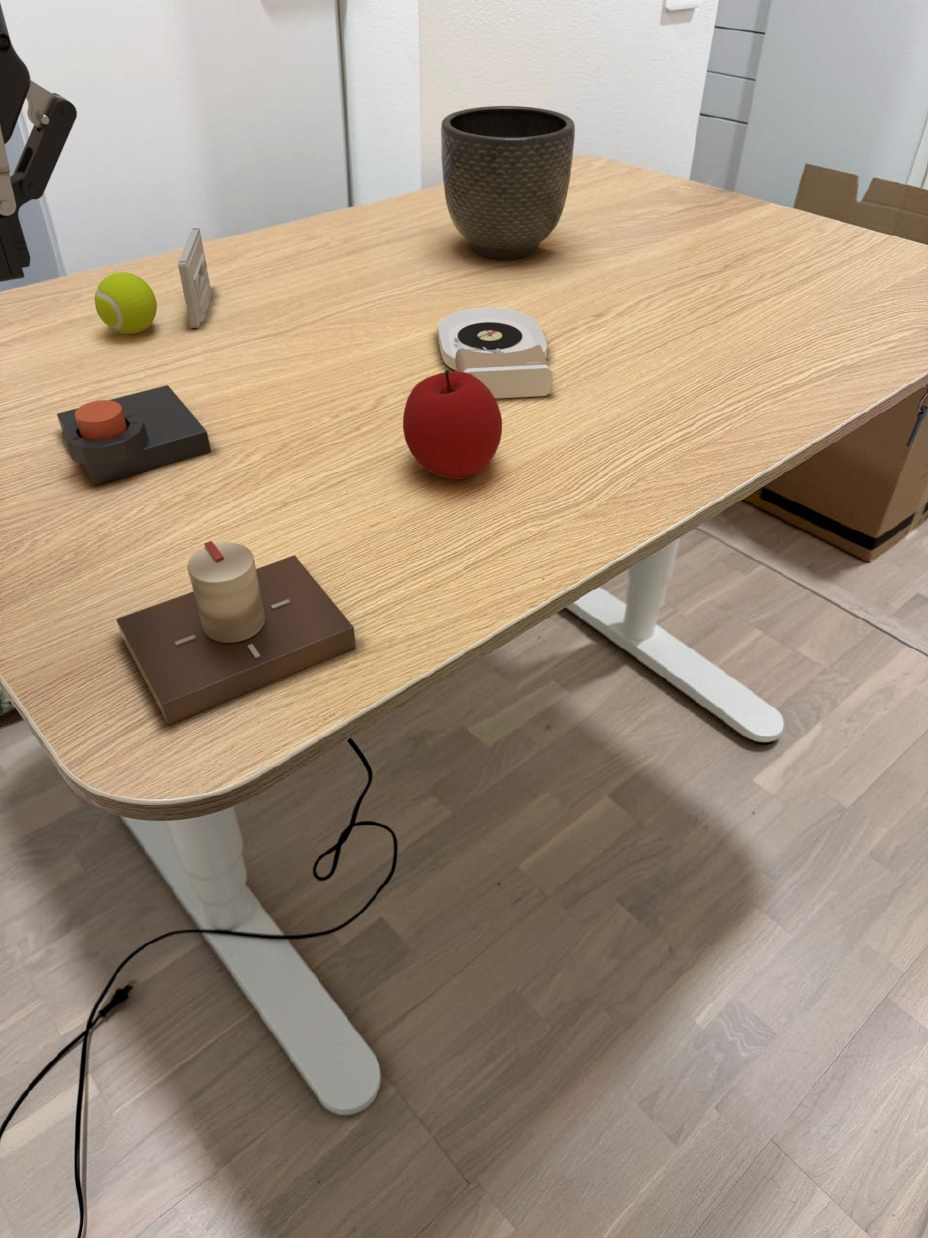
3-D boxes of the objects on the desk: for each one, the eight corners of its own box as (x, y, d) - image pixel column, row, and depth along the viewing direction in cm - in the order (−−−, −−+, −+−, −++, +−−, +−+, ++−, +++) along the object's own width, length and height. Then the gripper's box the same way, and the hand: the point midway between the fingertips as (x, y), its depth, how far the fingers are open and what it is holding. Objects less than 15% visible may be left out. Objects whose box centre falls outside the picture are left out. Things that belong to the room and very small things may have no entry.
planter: (449, 225, 133) (448, 103, 123) (566, 229, 132) (575, 106, 122) (435, 269, 121) (433, 136, 110) (565, 274, 119) (575, 140, 109)
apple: (521, 475, 83) (526, 374, 76) (434, 504, 79) (432, 400, 73) (470, 431, 89) (470, 333, 82) (387, 456, 85) (381, 356, 79)
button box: (87, 494, 81) (74, 455, 78) (53, 436, 88) (40, 398, 85) (215, 455, 85) (207, 417, 83) (172, 404, 93) (164, 367, 90)
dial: (275, 628, 64) (263, 563, 60) (216, 651, 62) (200, 586, 59) (250, 594, 67) (237, 531, 63) (193, 616, 65) (176, 552, 61)
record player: (450, 372, 91) (433, 296, 106) (450, 400, 93) (434, 322, 108) (564, 366, 92) (531, 292, 107) (562, 394, 94) (530, 317, 109)
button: (87, 446, 80) (81, 426, 78) (75, 427, 82) (69, 407, 81) (132, 434, 81) (127, 413, 80) (119, 415, 84) (113, 395, 82)
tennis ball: (90, 335, 105) (74, 277, 101) (133, 315, 109) (119, 259, 105) (132, 348, 103) (117, 289, 98) (174, 327, 107) (162, 270, 102)
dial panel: (168, 725, 60) (161, 703, 59) (122, 639, 66) (115, 617, 65) (356, 647, 66) (353, 625, 64) (297, 574, 72) (294, 553, 71)
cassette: (202, 328, 106) (189, 263, 101) (186, 329, 106) (172, 263, 101) (215, 289, 115) (203, 226, 110) (200, 289, 115) (188, 227, 110)
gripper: (19, -79, 51) (98, 241, 62) (-259, -73, 45) (-117, 278, 56) (54, -71, 46) (132, 274, 57) (-251, -63, 40) (-98, 318, 52)
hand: (8, 275), depth 57 cm, fingers closed
